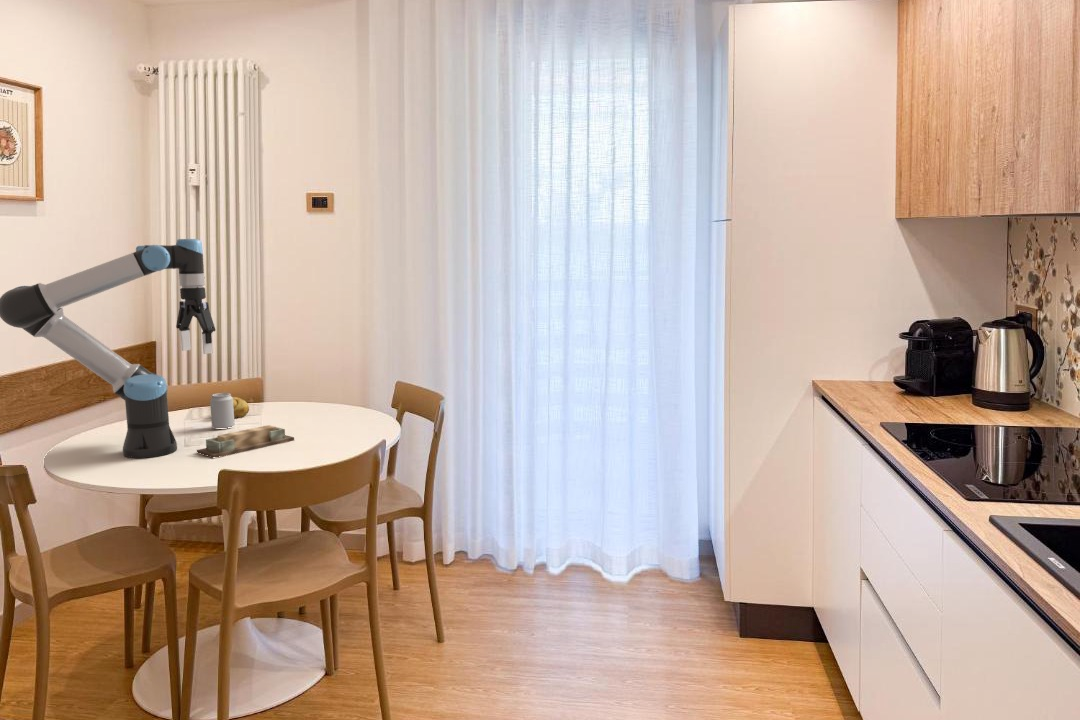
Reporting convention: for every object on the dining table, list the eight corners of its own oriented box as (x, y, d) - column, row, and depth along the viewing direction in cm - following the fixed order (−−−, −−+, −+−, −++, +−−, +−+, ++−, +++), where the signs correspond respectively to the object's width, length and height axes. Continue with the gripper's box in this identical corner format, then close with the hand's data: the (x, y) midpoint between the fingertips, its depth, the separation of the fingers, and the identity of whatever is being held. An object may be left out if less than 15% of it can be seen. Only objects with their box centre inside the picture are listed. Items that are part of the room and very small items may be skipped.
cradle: (214, 458, 243) (213, 445, 242) (196, 453, 249) (195, 440, 249) (294, 440, 265) (293, 428, 264) (276, 435, 271) (275, 424, 270)
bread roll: (221, 413, 308) (219, 393, 307) (248, 411, 311) (247, 391, 310) (222, 420, 296) (220, 398, 295) (250, 418, 300) (248, 396, 298)
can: (238, 425, 287) (236, 392, 285) (228, 430, 280) (226, 396, 278) (218, 425, 288) (216, 392, 286) (207, 430, 280) (205, 395, 279)
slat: (225, 450, 249) (224, 437, 248) (218, 448, 251) (217, 435, 251) (276, 438, 262) (275, 426, 262) (269, 437, 265) (268, 425, 264)
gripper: (224, 287, 258) (228, 353, 261) (184, 285, 273) (188, 347, 276) (201, 288, 252) (206, 356, 255) (162, 286, 267) (166, 350, 270)
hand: (197, 352), depth 265 cm, fingers open, 13 cm apart
